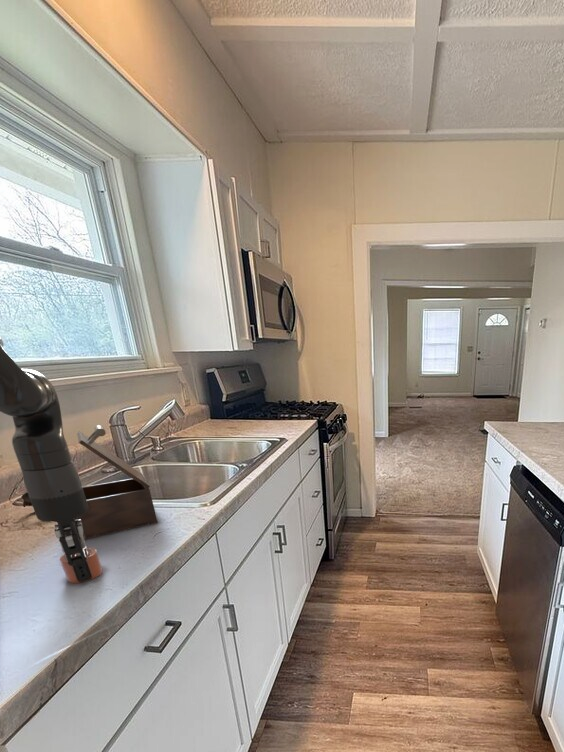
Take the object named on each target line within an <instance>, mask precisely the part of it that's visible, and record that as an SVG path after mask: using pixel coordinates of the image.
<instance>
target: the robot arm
mask: <svg viewBox="0 0 564 752" xmlns="http://www.w3.org/2000/svg"><path fill="white" fill-rule="evenodd" d="M60 405H61V404H60V400H59V395H58V393H57V391H56V388H55V387H54V385H53V383H52V382H51V381H50V379H48V378H47V377H46V376H45V375H44V374H42V373H40V372H39V371H37V370H34V369H30V368H21V367H20V366H19V365H18V364H17V363H16V362H15V361H14V359H13V358H12V357H11V356H10V355H9V354H8V353H7V351H6V350H5V349H4V341H3V339H2V338H1V337H0V413H2V414H3V415H4V414H5V415H6V416H9V417H12V420H13V424H14V433H13V435H12V437H11V445H12V449H13V452H14V454H15V458H16V459H17V463H18V464H19V467H20V470H21V475H22V480H23V484H24V486H25V489H26V492H28V495H29V498H30V500H31V503H32V506H31V507H32V508H33V511H34V513H35V516H36V519H37V520H39V521H40V522H45V523H46V522H47V523H51V522H54V523H55V524H54V529H53V530H54V533H55V534H54V535H55V537H56V539H58V541H59V544H60V548H61V551H62V553H64V554H65V555H66V557H67V560H68V564H69V565H70V566H72V567H73V569H74V572H75V575H76V578H77V580H78V581H79V583H83V582H82V581H85V582H87V581H86V580H88V581H90V580H89V579H91V578H92V575H91V572H90V569H89V566H88V563H87V559H88V558H87V556H86V555H85V551H84V549H85V548H87V544H86V539H85V535H84V530H83V525H82V521H81V519H79V520H77V516H80V515H82V514H84V513H86V512H87V511H88V509H89V506H88V503H87V500H86V497H85V493H84V490H83V487H84V486H83V484H82V481H81V478H80V475H79V472H78V470H77V468H76V466H75V464H74V461H73V458H72V455H71V452H70V449H69V446H68V443H67V440H66V438H65V434H64V427H63V425H64V424H63V417H62V409H61V406H60ZM76 553H80V554H81V556H78V557H74V558H72V554H76ZM91 580H92V579H91Z"/></svg>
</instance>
